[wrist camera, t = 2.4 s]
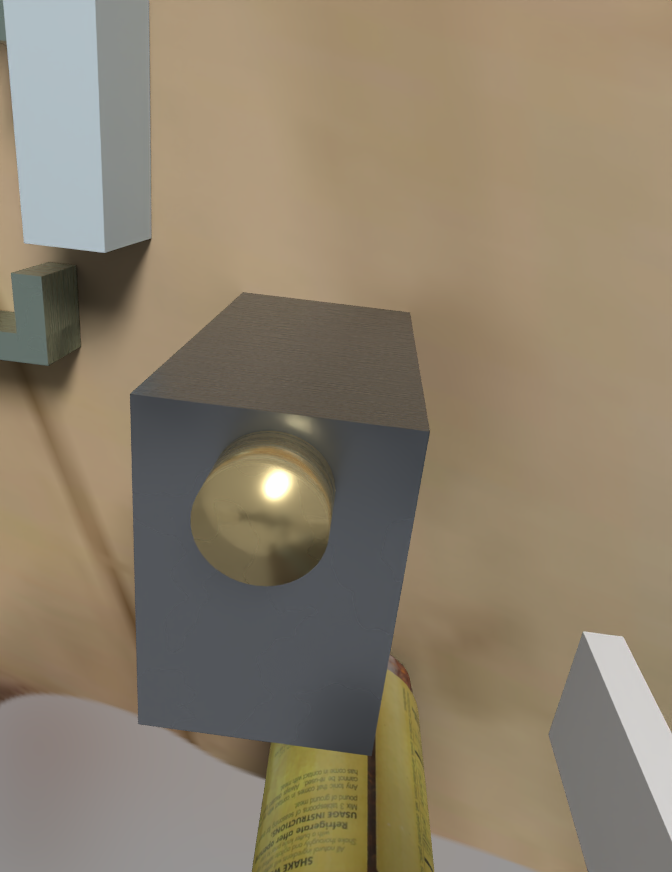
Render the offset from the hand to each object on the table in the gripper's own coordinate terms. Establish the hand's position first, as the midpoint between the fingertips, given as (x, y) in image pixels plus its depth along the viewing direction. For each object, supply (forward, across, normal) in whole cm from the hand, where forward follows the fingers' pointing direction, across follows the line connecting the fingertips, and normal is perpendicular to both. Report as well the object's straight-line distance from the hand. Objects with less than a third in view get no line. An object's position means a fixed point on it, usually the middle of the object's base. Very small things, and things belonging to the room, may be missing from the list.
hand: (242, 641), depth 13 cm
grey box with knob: (+13, 0, 0) cm, 13 cm away
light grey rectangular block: (+13, +7, -9) cm, 17 cm away
